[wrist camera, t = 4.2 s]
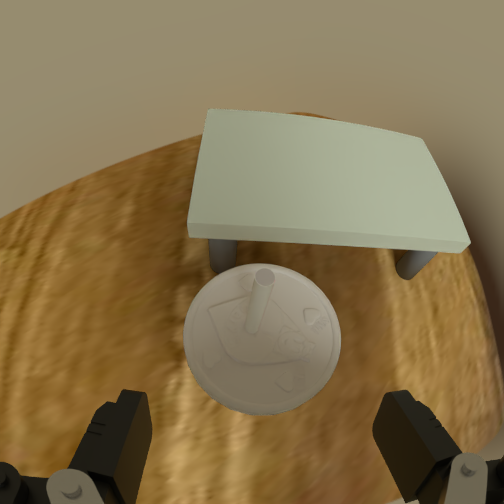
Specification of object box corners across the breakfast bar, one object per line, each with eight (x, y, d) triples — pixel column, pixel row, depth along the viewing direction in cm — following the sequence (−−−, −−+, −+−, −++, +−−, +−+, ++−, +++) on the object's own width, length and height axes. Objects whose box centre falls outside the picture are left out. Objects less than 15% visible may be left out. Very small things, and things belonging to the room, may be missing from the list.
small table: (195, 278, 23) (186, 222, 17) (208, 168, 30) (208, 108, 24) (425, 284, 25) (470, 242, 19) (395, 186, 31) (421, 138, 25)
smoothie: (223, 315, 22) (226, 168, 10) (306, 349, 21) (406, 239, 9) (184, 394, 19) (115, 340, 7) (273, 432, 18) (360, 443, 6)
